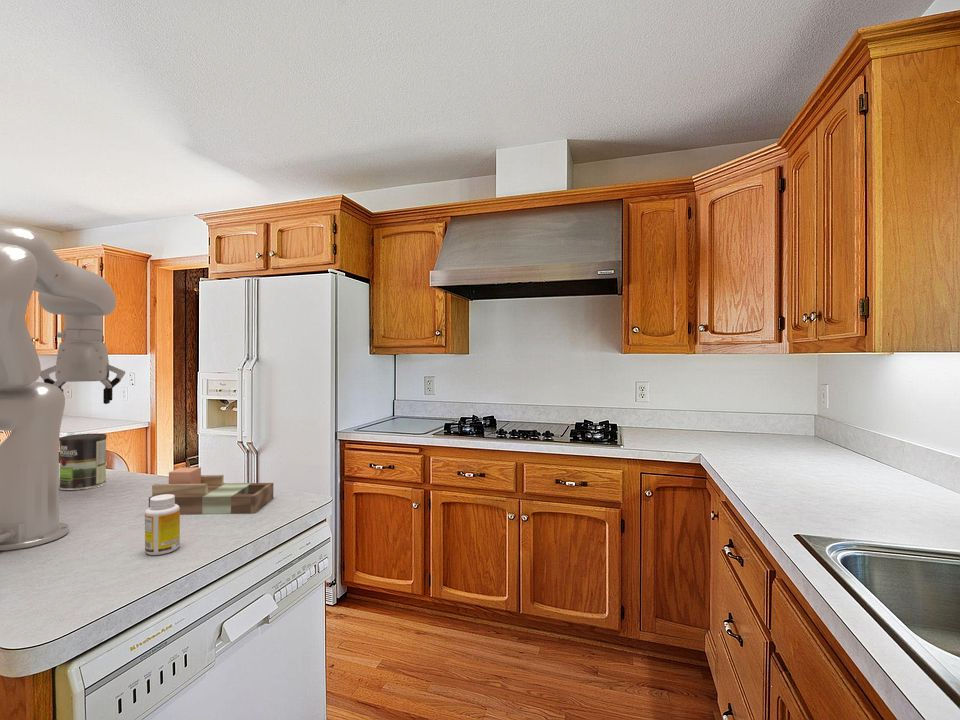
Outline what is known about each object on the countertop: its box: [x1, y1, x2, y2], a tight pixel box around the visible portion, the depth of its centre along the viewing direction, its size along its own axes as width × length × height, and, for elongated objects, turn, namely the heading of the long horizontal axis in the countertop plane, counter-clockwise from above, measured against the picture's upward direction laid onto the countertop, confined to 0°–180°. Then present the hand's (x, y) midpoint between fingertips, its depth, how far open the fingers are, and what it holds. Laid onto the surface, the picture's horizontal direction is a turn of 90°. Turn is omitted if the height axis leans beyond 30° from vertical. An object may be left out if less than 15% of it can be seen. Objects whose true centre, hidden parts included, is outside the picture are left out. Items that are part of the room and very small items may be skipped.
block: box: [168, 466, 202, 484], centre depth 118 cm, size 5×5×5 cm
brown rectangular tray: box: [148, 474, 274, 515], centre depth 118 cm, size 12×24×6 cm, turn 94°
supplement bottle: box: [144, 494, 181, 556], centre depth 92 cm, size 6×6×10 cm
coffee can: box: [59, 432, 107, 491], centre depth 135 cm, size 10×10×14 cm
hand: (83, 404), depth 123 cm, fingers open, 9 cm apart
